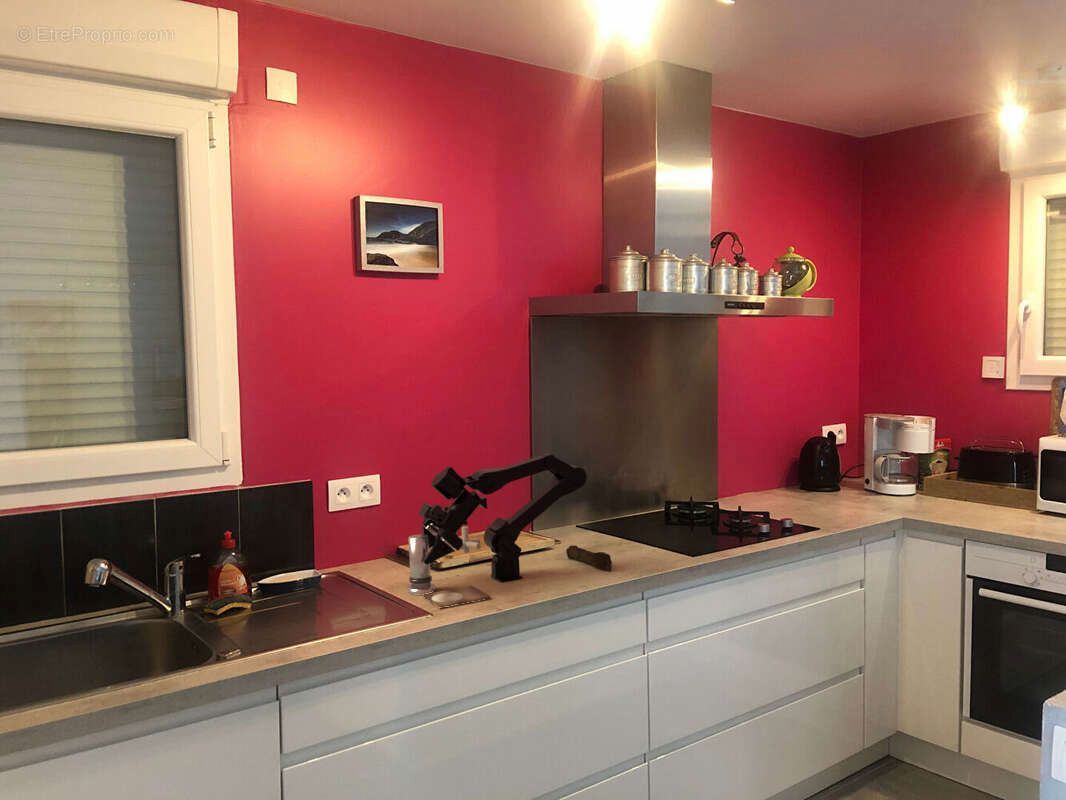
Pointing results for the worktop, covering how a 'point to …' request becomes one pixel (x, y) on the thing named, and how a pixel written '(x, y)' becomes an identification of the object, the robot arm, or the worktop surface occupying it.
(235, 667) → the worktop surface
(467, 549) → the pipe connector
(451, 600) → the walnut board
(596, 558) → the hand tool
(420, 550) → the silver flared cylinder
